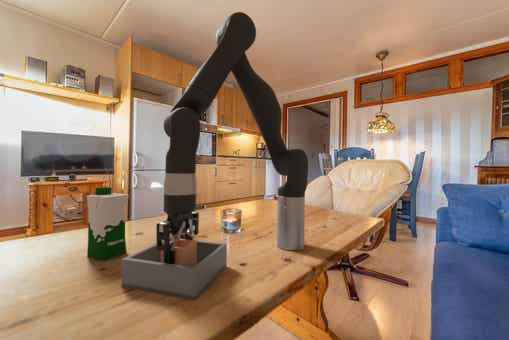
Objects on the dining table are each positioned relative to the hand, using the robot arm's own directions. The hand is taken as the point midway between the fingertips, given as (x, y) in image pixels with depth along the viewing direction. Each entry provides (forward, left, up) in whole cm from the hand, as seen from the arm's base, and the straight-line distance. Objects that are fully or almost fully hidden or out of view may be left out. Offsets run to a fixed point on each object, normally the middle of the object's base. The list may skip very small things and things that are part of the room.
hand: (179, 259), depth 52 cm
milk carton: (+28, -5, -4) cm, 29 cm away
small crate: (0, 0, -3) cm, 3 cm away
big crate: (0, 0, -4) cm, 4 cm away
